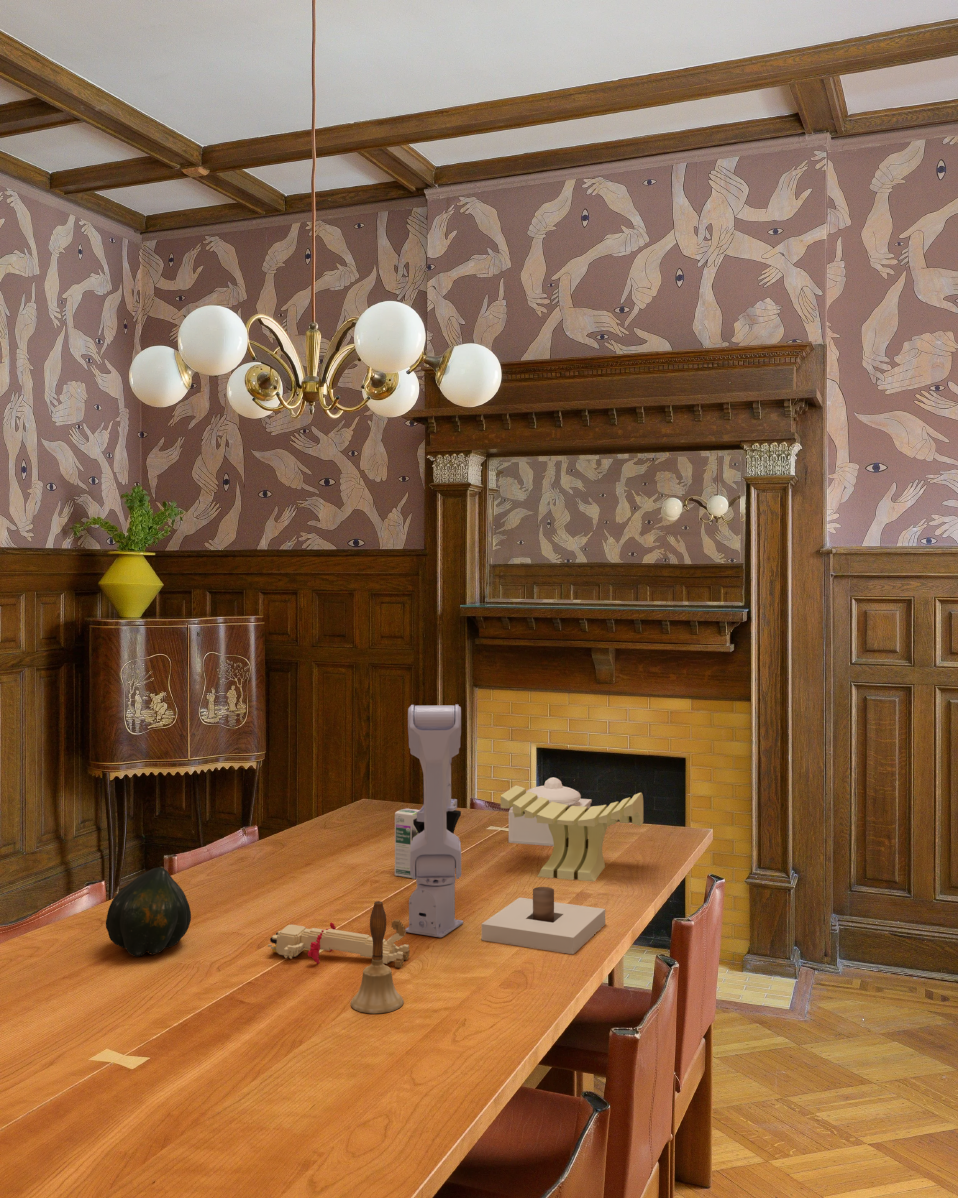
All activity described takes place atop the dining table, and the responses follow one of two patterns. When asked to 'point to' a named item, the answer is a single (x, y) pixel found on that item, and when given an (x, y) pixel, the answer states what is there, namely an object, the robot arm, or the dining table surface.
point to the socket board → (544, 926)
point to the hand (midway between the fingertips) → (437, 849)
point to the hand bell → (377, 973)
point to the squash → (148, 914)
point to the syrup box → (404, 840)
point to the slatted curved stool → (574, 830)
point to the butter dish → (528, 828)
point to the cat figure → (337, 942)
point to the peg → (543, 904)
